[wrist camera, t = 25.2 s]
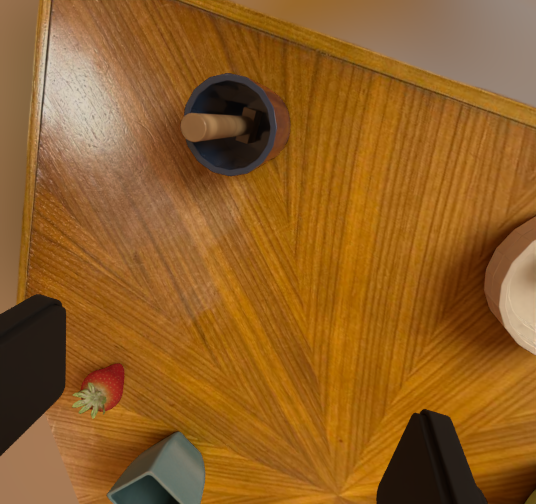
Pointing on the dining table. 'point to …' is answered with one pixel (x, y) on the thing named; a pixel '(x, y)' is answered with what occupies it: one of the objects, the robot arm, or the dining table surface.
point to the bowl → (515, 284)
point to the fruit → (101, 390)
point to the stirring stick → (221, 126)
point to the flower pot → (163, 475)
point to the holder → (232, 103)
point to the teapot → (532, 498)
